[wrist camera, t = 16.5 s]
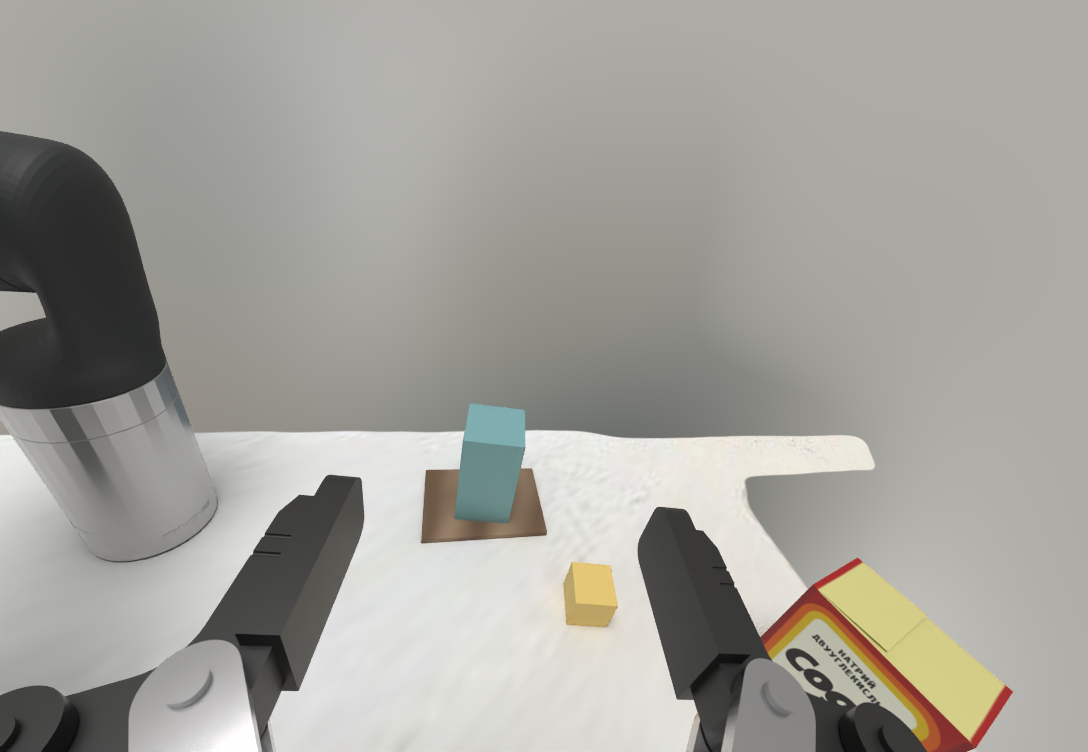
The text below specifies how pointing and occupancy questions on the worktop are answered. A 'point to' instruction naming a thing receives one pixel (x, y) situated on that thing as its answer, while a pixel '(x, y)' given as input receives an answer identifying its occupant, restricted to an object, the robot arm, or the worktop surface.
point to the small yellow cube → (589, 595)
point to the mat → (445, 528)
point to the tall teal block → (490, 463)
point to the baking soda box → (885, 659)
